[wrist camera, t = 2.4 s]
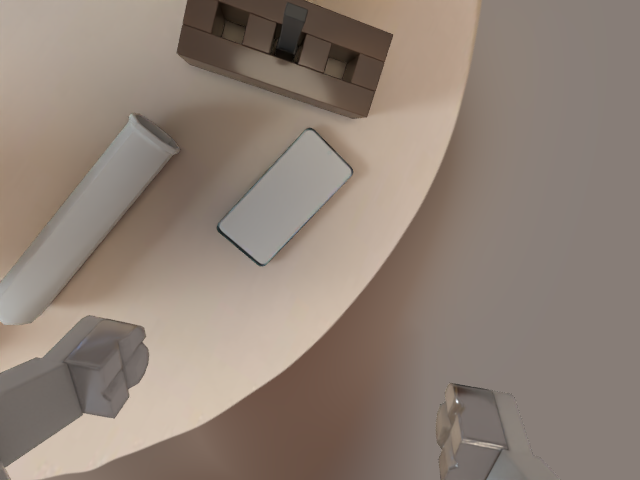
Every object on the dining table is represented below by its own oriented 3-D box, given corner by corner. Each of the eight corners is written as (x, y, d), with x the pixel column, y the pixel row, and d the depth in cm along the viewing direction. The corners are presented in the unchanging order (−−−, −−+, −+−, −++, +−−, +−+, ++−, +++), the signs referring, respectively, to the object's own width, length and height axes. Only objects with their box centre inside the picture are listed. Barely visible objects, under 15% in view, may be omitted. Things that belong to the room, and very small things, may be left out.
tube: (28, 343, 41) (182, 157, 38) (-32, 322, 38) (130, 118, 35) (39, 311, 45) (179, 142, 42) (-14, 291, 42) (132, 107, 39)
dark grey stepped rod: (274, 57, 41) (280, 15, 25) (277, 47, 40) (284, -2, 25) (291, 63, 41) (307, 25, 26) (294, 53, 41) (311, 8, 26)
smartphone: (214, 228, 44) (309, 125, 42) (214, 227, 44) (309, 125, 43) (262, 269, 46) (355, 171, 44) (262, 267, 46) (354, 171, 45)
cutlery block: (353, 118, 43) (367, 117, 38) (188, 64, 40) (176, 53, 34) (375, 47, 42) (393, 34, 36) (206, -17, 38) (195, -42, 33)
